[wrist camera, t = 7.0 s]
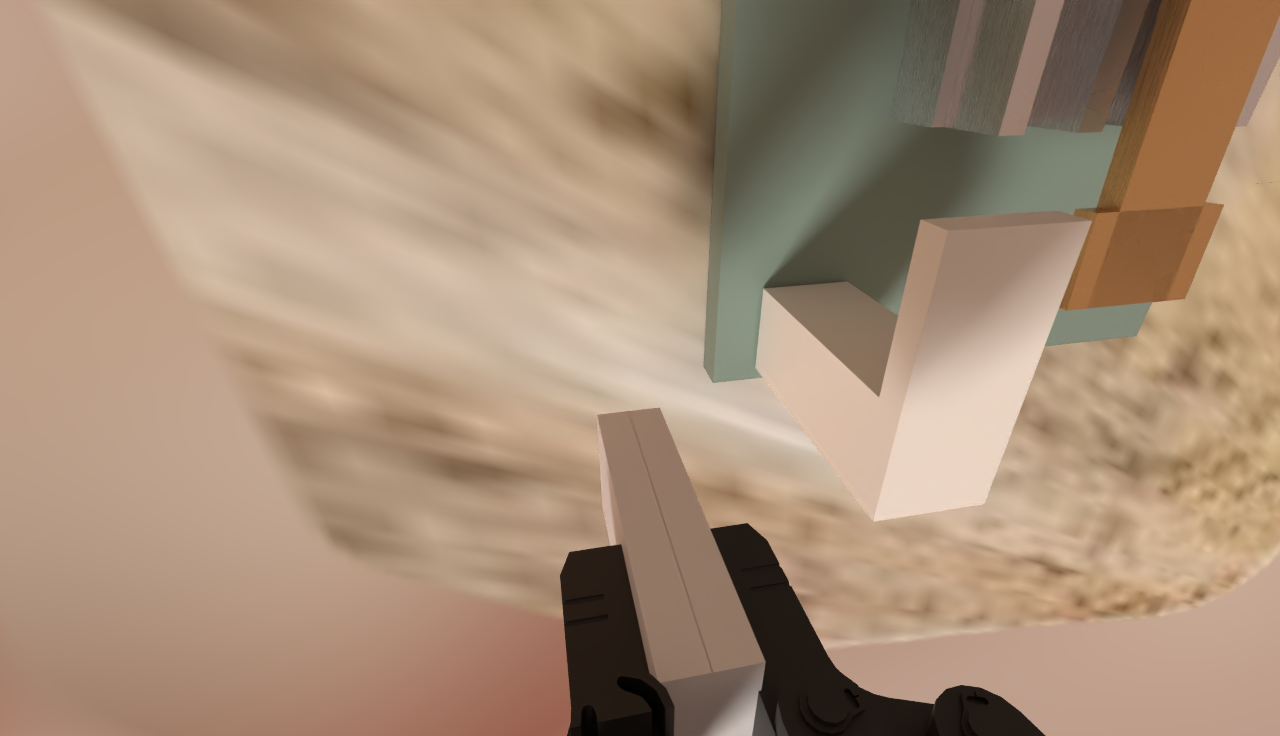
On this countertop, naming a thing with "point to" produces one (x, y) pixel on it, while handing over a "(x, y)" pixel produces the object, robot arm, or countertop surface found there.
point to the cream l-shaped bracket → (923, 359)
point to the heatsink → (1031, 64)
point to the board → (858, 171)
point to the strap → (1171, 154)
